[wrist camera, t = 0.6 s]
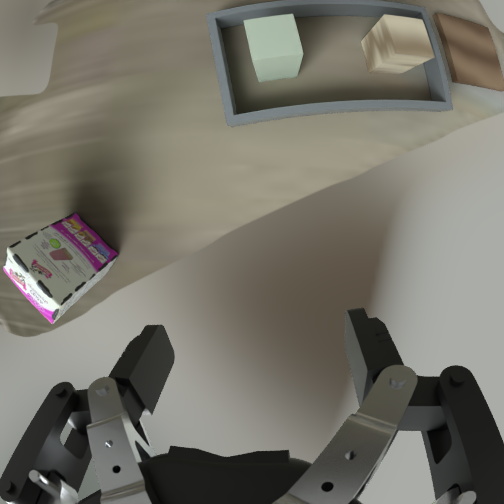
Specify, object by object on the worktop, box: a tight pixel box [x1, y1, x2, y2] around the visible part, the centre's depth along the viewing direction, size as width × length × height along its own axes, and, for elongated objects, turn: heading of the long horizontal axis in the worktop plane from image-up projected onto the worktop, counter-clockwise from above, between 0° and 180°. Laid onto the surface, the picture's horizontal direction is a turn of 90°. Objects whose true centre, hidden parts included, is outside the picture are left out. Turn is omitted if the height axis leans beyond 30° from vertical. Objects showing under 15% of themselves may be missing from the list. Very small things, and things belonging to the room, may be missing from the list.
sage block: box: [244, 14, 303, 82], centre depth 26 cm, size 5×5×10 cm
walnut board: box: [433, 13, 504, 91], centre depth 24 cm, size 12×12×2 cm
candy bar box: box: [4, 213, 119, 324], centre depth 35 cm, size 11×5×16 cm, turn 48°
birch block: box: [361, 14, 434, 74], centre depth 24 cm, size 5×5×10 cm
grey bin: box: [206, 0, 453, 127], centre depth 28 cm, size 16×30×4 cm, turn 100°
